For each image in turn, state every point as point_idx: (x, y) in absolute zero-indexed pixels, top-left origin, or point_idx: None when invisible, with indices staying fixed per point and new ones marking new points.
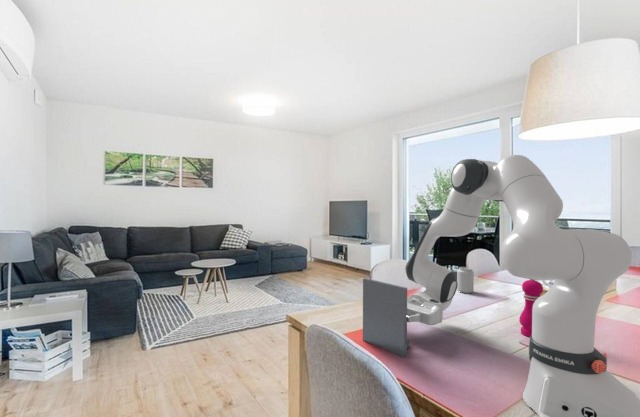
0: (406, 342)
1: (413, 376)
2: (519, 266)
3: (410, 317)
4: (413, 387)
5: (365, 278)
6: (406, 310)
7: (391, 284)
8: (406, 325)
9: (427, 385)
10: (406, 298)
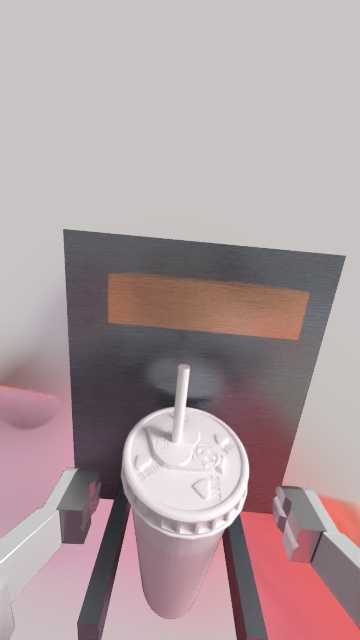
0: (75, 453)
1: (47, 417)
2: None
3: (61, 479)
4: (46, 393)
5: (336, 255)
6: (71, 337)
7: (160, 239)
8: (73, 395)
9: (14, 407)
10: (69, 283)
